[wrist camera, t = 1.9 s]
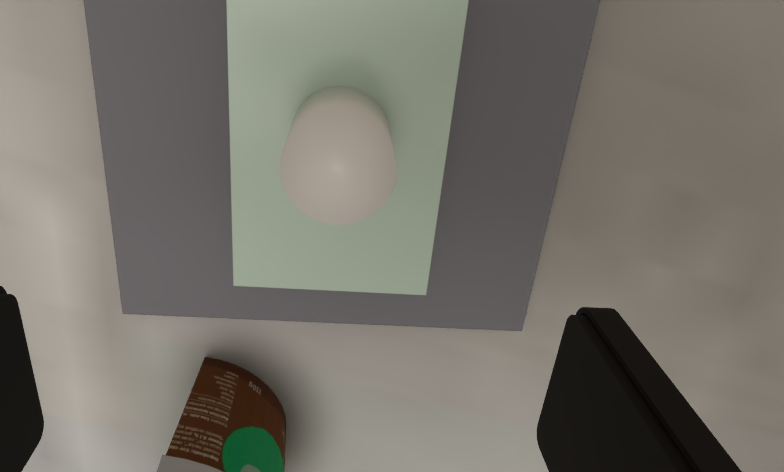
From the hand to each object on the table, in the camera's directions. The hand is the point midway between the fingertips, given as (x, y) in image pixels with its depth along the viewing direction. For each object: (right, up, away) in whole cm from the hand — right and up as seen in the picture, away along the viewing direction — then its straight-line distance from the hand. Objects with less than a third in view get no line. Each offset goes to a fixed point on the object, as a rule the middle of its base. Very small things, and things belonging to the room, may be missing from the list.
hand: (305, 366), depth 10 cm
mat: (-1, +7, +15) cm, 17 cm away
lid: (-1, +7, +14) cm, 16 cm away
